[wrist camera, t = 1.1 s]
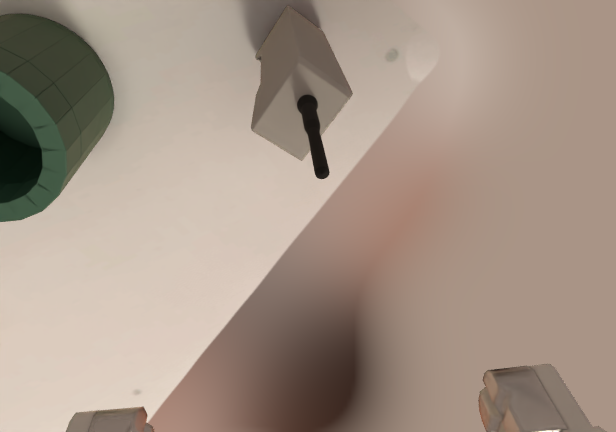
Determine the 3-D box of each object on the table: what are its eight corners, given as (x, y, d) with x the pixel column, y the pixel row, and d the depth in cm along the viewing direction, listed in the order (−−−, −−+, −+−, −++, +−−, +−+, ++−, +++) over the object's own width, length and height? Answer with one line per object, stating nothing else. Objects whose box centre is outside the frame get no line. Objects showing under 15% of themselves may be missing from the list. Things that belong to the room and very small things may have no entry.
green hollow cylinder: (-65, 20, 37) (-187, 60, 27) (88, 7, 38) (24, 42, 28) (0, 157, 44) (-78, 229, 34) (130, 145, 44) (90, 213, 34)
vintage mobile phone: (255, 55, 41) (244, 206, 20) (287, 4, 39) (313, 113, 18) (290, 79, 42) (315, 244, 21) (323, 31, 40) (386, 161, 19)
